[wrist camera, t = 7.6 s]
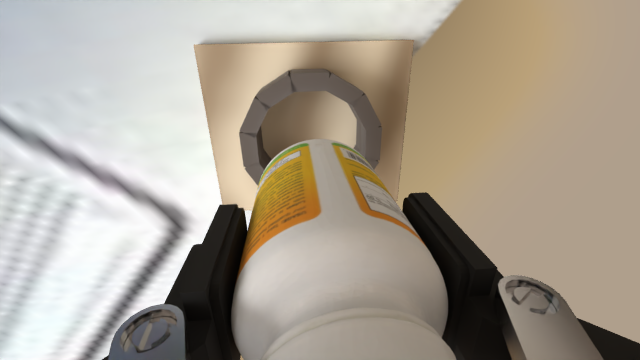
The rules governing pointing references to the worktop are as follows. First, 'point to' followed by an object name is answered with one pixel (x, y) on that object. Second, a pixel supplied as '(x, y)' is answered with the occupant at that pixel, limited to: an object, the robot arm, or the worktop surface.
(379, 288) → the supplement bottle
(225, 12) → the worktop surface
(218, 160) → the collar board
